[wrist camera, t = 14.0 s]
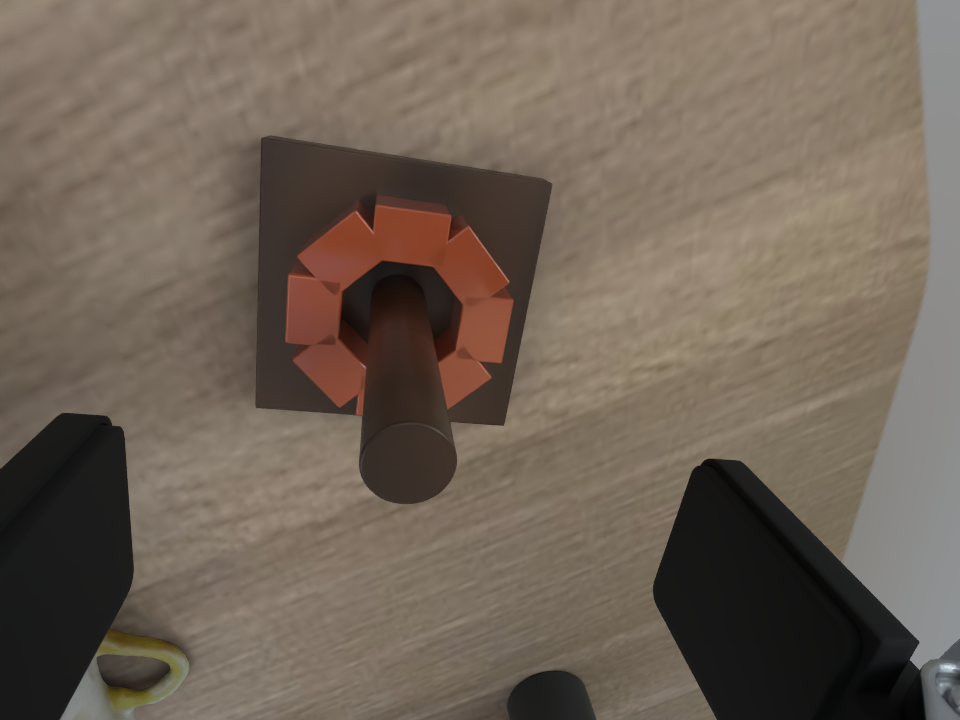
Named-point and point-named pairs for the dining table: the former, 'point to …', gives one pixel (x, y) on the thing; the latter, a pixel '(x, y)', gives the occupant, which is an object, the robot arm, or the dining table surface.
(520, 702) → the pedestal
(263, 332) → the post
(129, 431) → the dining table surface
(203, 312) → the dining table surface
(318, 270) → the ring
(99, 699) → the mug
